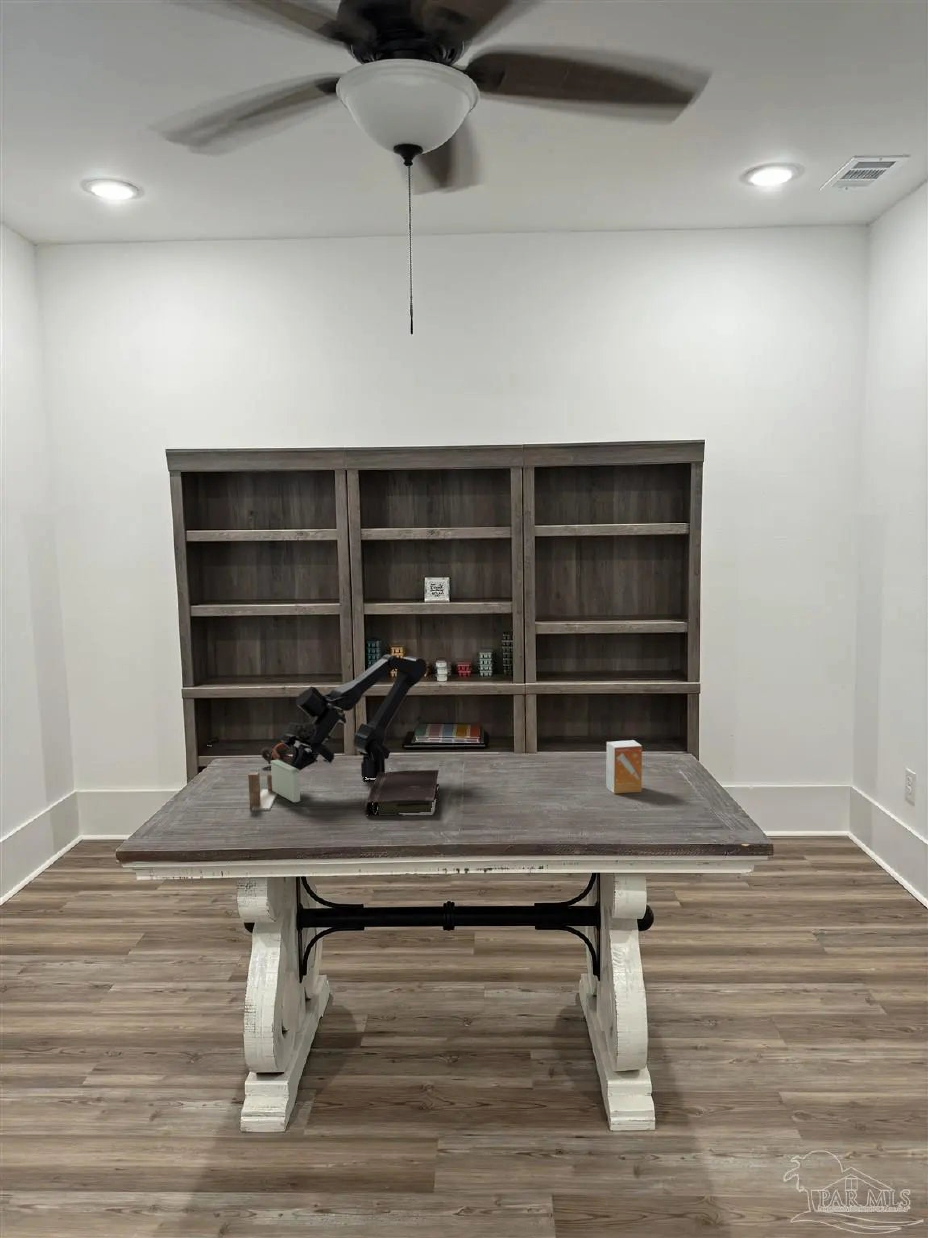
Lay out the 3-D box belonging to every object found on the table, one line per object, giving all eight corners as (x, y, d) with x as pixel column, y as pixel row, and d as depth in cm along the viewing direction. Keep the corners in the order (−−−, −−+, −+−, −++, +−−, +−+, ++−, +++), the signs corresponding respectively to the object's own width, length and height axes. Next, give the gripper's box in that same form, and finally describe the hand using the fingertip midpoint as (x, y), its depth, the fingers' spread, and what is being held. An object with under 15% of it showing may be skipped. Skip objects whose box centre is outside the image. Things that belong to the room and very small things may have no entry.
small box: (614, 794, 235) (614, 747, 233) (605, 787, 241) (605, 741, 239) (642, 792, 236) (642, 745, 235) (633, 785, 243) (633, 739, 241)
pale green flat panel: (271, 790, 240) (270, 760, 239) (278, 789, 241) (277, 759, 240) (293, 802, 230) (292, 771, 229) (300, 800, 231) (299, 769, 230)
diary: (364, 819, 221) (363, 800, 221) (376, 788, 246) (375, 771, 245) (437, 817, 221) (436, 798, 220) (442, 787, 246) (441, 769, 245)
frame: (279, 790, 244) (278, 759, 242) (269, 810, 227) (268, 776, 226) (259, 791, 243) (258, 759, 242) (248, 811, 227) (246, 777, 226)
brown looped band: (300, 762, 273) (303, 743, 269) (293, 783, 265) (296, 764, 261) (262, 753, 272) (265, 734, 268) (254, 774, 264) (257, 755, 260)
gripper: (285, 705, 244) (252, 751, 237) (323, 715, 230) (289, 765, 224) (310, 727, 250) (278, 773, 244) (348, 739, 236) (316, 787, 230)
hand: (289, 774), depth 235 cm, fingers closed, pressing on pale green flat panel
